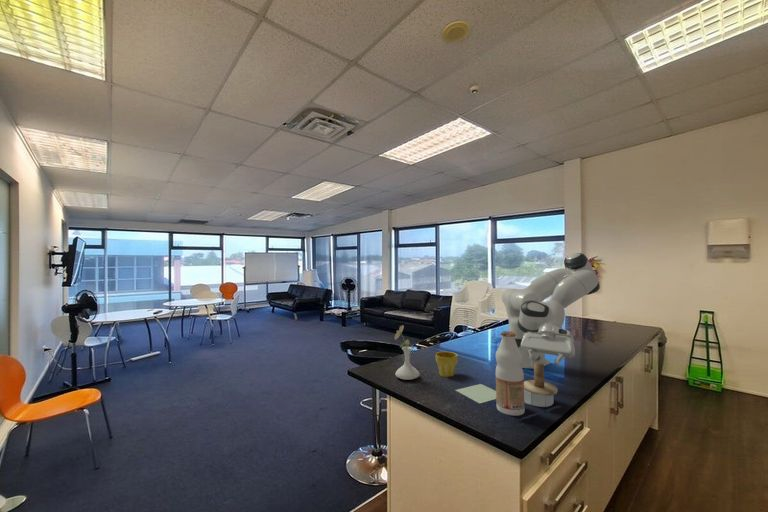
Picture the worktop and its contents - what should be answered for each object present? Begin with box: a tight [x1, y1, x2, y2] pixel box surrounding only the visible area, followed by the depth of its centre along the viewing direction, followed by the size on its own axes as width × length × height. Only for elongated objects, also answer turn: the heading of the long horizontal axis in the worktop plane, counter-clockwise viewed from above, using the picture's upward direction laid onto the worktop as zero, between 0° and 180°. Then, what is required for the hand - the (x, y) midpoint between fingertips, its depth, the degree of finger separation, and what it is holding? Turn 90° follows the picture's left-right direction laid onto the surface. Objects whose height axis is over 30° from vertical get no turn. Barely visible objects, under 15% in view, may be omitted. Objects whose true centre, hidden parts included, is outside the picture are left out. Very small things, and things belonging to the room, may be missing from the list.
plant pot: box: [435, 351, 459, 378], centre depth 146 cm, size 10×10×10 cm
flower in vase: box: [393, 324, 421, 381], centre depth 143 cm, size 13×11×25 cm
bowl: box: [524, 390, 555, 408], centre depth 116 cm, size 11×11×5 cm
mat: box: [455, 383, 496, 405], centre depth 123 cm, size 14×14×1 cm
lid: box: [524, 362, 559, 396], centre depth 116 cm, size 12×12×9 cm
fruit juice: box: [495, 330, 526, 417], centre depth 110 cm, size 9×9×28 cm
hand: (543, 361), depth 125 cm, fingers open, 8 cm apart
